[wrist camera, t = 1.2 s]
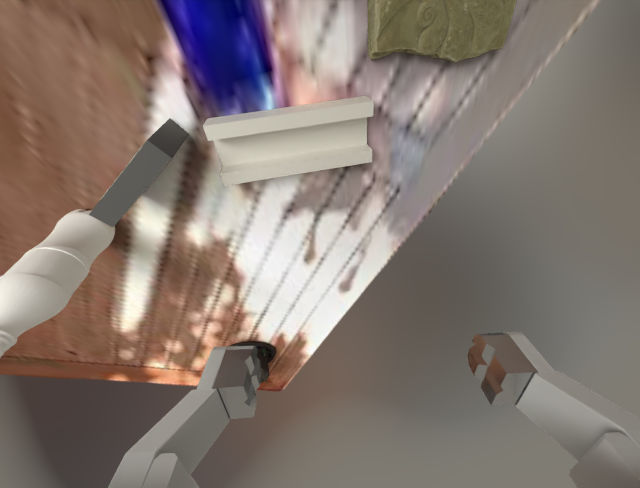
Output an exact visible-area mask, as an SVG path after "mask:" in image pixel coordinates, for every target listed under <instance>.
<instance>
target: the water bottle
mask: <svg viewBox="0 0 640 488" xmlns="http://www.w3.org/2000/svg"><path fill="white" fill-rule="evenodd" d="M91 211H92V210H88V211H86V210H85V209H78V210H74V211H72V212H70V213H68V214H67V215H65V216H64V217H63V218H62V219H61V220H60V221H59V222H58V223H57V224H56V226H55V228H54V230H53V231H52V233H51V234H50V235H49V236H48V237H47V238H46V239H45V240H44V241H43V242H42V243H40V244H39V245H37V246H36V247H34V248H33V249H31V250H29V251H28V252H26V253H25V254H24V256H23V257H22V258H21V259H20V260H19V261H18V262H17V263H16V264H15V265H14V266H12V267H11V268H10V269H9V270H8V271H7V272H6V273H5V274H4V275H3V276H1V277H0V357H1V356H2V355H3V354H4V352H5V351H6V350H8V349H9V348H10V347H11V346H13V345H14V344H15V343H16V342H17V337H18V336H20V335H21V334H22V333H23V332H25V331H26V330H28V329H30V328H32V327H34V326H36V325H38V324H40V323H42V322H44V321H46V320H48V319H50V318H51V317H53V316H55V315H56V314H58V313H59V312H60V311H61V310H62V309H63V308H64V307H65V306H66V305H67V303H68V301H69V299H70V297H71V296H72V295H73V293H74V292H75V290H76V289H77V288H78V286H79V285H80V283H81V282H82V281H83V280H84V279H85V278H86V277H87V275H88V272H89V268H90V266H91V264H92V262H93V261H94V260H95V258H96V257H97V256H98V255H99V254H100V253H101V252H102V251H103V250H104V249H106V248H107V247H108V246H109V245H110V243H111V242H112V240H113V238H114V235H115V226H114V227H111V226H109V225H107V224H105V223H104V222H102V221H100V220H98V219H96V218H94V217H92V216H90V215H89V214H90V213H91Z"/></svg>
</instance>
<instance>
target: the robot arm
mask: <svg viewBox="0 0 640 488" xmlns="http://www.w3.org/2000/svg"><path fill="white" fill-rule="evenodd" d="M472 341H473V343H474V346H473V347H471V348H470V349H469V353H468V363H469V366H470V368H471V370H472V372H473V374H474V376H476V377H477V378H479V379H480V380H481V381H482V382H481V388H482V390H483V392H484V394H485V396H486V397H487V399H488V401H489V403H490V404H491V406H500V405H501V406H505V405H517V406H516V407H517V408H518V409H519V410H520V411H522V412H523V413H524V414H525V415H526V416H527V417H529V418H530V419H531V420H532V421H533V422H534V423H535V424H537V425H538V426H539V427H540V428H541V429H542V430H543V431H545V432H546V433H547V434H548V435H549V436H550V437H552V438H553V439H554V440H555V441H556V442H557V443H558V444H560V445H561V446H562V447H563V448H564V449H565V450H566V451H568V452H569V453H570V454H571V455H572V456H573V457H575V458H576V459H577V460H578V462H577V463H576V465H575V466H573V468H572V469H571V470H570V473H569V476H570V477H571V479H572V480H573V482H574V483H575V485H576V487H577V488H640V419H638V418H637V417H635V416H633V415H632V414H630V413H628V412H627V411H625V410H623V409H622V408H620V407H618V406H616V405H615V404H613V403H611V402H610V401H608V400H606V399H605V398H603V397H601V396H600V395H598V394H596V393H595V392H593V391H591V390H590V389H587V388H586V387H584V386H583V385H581V384H579V383H578V382H576V381H574V380H573V379H571V378H569V377H568V376H566V375H564V374H563V373H561V372H555V371H554V370H553V369H552V367H551V366H550V365H549V364H548V363H547V362H546V360H545V359H544V358H543V357H542V356H541V355H540V353H539V352H538V351H537V350H536V349H535V348H534V346H533V345H532V344H531V343H530V342H529V341H528V340H527V338H526V337H525V336H524V335H523V334H522V333H520V332H507V333H502V332H501V333H487V334H486V333H485V334H476V335H475V336H474V338H473V340H472ZM257 352H258V351H257V348H256V346H227V347H214V349H213V350H212V351H211V353H210V356H209V359H208V361H207V364H206V366H205V369H204V371H203V374H202V376H201V379H200V381H199V384H198V387H197V389H196V390H192V391H190V392H189V393H188V394H187V395H186V396H185V397H184V398H183V399H182V400H181V401H180V402H179V403H178V404H177V405H176V406H175V407H174V408H173V409H172V410H171V411H170V412H169V413H167V414H166V415H165V417H163V418H162V419H161V420H160V421H159V422H158V423H157V424H156V425H155V426H154V427H153V428H152V429H151V430H150V431H149V432H148V433H147V434H146V435H144V436H143V437H142V439H140V440H139V441H138V442H137V443H136V444H135V445H134V446H133V447H132V448H131V449H130V450H129V451H128V452H127V453H126V454H125V456H124V458H123V460H122V462H121V464H120V465H119V467H118V469H117V471H116V473H115V475H114V477H113V479H112V481H111V483H110V485H109V487H108V488H199V487H198V486H197V484H196V482H195V481H194V480H193V478H192V477H191V473H192V472H193V470H194V469H195V468H196V466H197V465H198V464H199V462H200V461H201V460H202V458H203V457H204V455H205V454H206V453H207V451H208V450H209V449H210V447H211V446H212V444H213V443H214V441H215V440H216V439H217V437H218V436H219V435H220V433H221V432H222V431H223V429H224V428H225V426H226V425H227V424H228V422H229V419H235V418H248V417H254V412H255V407H256V401H257V396H256V393H255V390H256V389H257V388H258V387H259V386H260V380H261V363H260V359H258V358H257Z"/></svg>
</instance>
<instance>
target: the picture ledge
mask: <svg viewBox="0 0 640 488" xmlns="http://www.w3.org/2000/svg"><path fill="white" fill-rule="evenodd" d="M373 110H374V101H373V100H371V99H370V98H368V97H366V96H361V97H354V98H347V99H340V100H333V101H326V102H319V103H312V104H305V105H298V106H292V107H285V108H278V109H271V110H264V111H257V112H250V113H243V114H236V115H229V116H222V117H215V118H208V119H207V120H206V122H205V124H204V125H203V128H204V131H205V134H206V136H207V139H208V141H212V140H213V141H214V144H215V147H216V150H217V153H218V156H219V159H220V161H221V164H222V169H221V172H220V176H221V179H222V181H223V184H224V186H227V185H234V184H240V183H246V182H252V181H258V180H264V179H271V178H277V177H283V176H289V175H295V174H301V173H308V172H314V171H320V170H326V169H332V168H339V167H345V166H351V165H357V164H363V163H369V162H372V149H371V148H370V147H369V146H368V145H367V117H372V116H373Z"/></svg>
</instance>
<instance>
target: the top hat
mask: <svg viewBox="0 0 640 488" xmlns="http://www.w3.org/2000/svg"><path fill="white" fill-rule="evenodd" d="M231 346H256V348H257V351H258V352H257V358H258V359H260V363H261V380H260V383H262V382H264V381H265V380H266V382H267V378H268V377H269V368H268V363H269V362H270V361H271V360H272V359H273V358H274V356H275V355H276V350H275V348H274V347H272V346H271V345H268V344H264V343H258V342H244V343H237V344H234V345H231ZM268 355H270V356H268Z"/></svg>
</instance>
